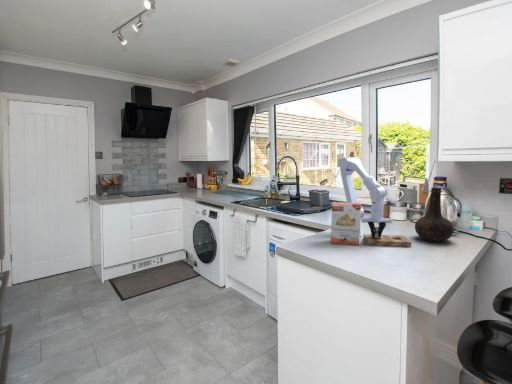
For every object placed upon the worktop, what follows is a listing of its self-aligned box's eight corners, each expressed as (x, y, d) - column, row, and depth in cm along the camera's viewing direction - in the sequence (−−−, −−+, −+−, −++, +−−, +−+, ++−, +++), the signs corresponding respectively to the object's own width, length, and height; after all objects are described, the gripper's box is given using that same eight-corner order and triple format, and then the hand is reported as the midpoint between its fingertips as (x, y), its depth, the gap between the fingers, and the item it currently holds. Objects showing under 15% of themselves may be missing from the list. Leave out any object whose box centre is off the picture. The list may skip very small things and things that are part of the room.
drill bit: (373, 243, 149) (374, 227, 148) (372, 241, 152) (373, 226, 151) (379, 243, 149) (380, 228, 148) (378, 241, 151) (378, 226, 150)
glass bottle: (433, 246, 143) (437, 190, 140) (406, 236, 160) (409, 186, 157) (461, 243, 148) (466, 188, 144) (432, 234, 165) (435, 185, 162)
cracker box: (330, 243, 148) (331, 203, 146) (330, 240, 154) (331, 201, 152) (359, 245, 145) (361, 204, 143) (358, 242, 151) (359, 202, 148)
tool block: (368, 245, 145) (368, 240, 145) (363, 238, 157) (363, 234, 156) (411, 247, 142) (411, 242, 142) (402, 240, 154) (403, 235, 153)
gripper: (364, 211, 145) (363, 238, 147) (394, 212, 143) (393, 239, 145) (361, 209, 152) (360, 234, 154) (390, 209, 150) (389, 235, 152)
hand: (376, 236), depth 150 cm, fingers closed on drill bit, 3 cm apart
